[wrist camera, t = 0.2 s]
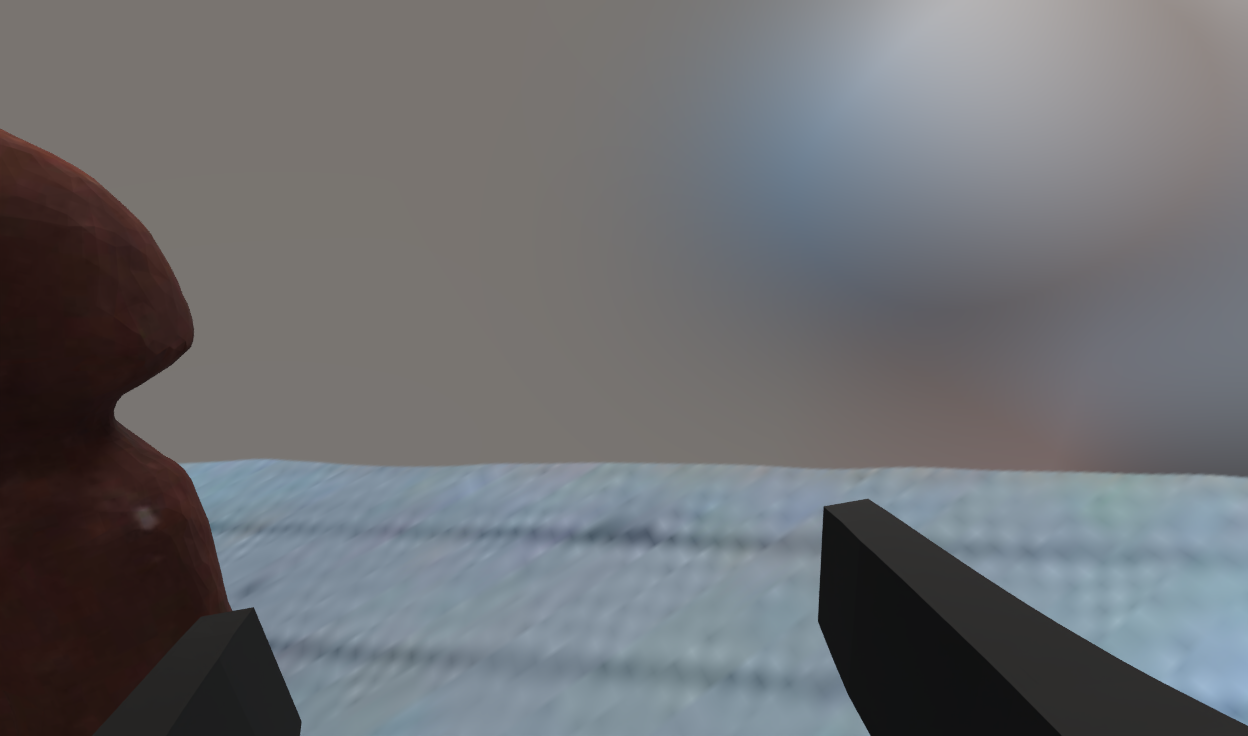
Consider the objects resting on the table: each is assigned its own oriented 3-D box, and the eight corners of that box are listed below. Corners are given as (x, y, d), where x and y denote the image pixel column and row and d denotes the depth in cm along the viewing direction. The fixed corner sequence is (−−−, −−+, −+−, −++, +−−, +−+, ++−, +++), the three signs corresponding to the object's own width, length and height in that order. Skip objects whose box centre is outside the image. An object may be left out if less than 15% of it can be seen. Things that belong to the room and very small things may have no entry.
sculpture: (257, 847, 35) (385, 220, 32) (-565, 1128, 20) (-476, 1, 17) (177, 676, 46) (267, 194, 43) (-399, 777, 31) (-325, 46, 28)
